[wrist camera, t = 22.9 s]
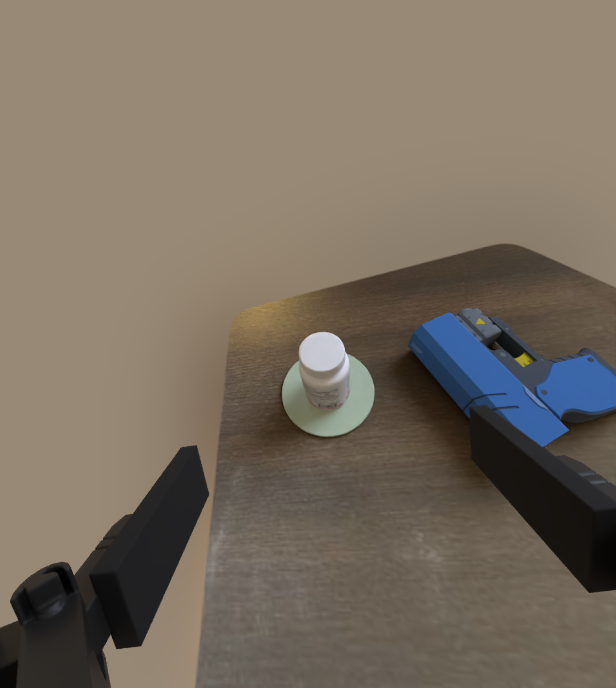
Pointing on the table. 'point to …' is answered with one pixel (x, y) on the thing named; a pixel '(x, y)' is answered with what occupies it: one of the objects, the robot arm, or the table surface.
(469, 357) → the stun gun
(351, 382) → the coaster
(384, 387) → the table surface
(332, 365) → the pill bottle
